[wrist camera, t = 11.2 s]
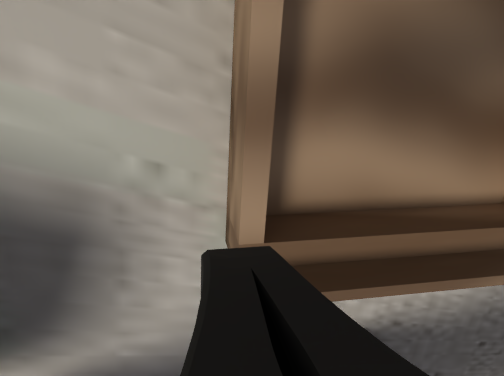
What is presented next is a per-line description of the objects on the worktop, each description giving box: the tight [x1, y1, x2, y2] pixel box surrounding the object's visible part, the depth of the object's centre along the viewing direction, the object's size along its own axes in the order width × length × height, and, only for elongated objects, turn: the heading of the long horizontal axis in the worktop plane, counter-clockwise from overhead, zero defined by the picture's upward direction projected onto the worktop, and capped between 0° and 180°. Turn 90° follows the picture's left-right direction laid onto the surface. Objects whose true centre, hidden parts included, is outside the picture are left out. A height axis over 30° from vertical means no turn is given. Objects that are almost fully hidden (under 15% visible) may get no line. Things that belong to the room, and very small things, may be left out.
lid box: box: [226, 0, 504, 302], centre depth 17 cm, size 13×15×5 cm
